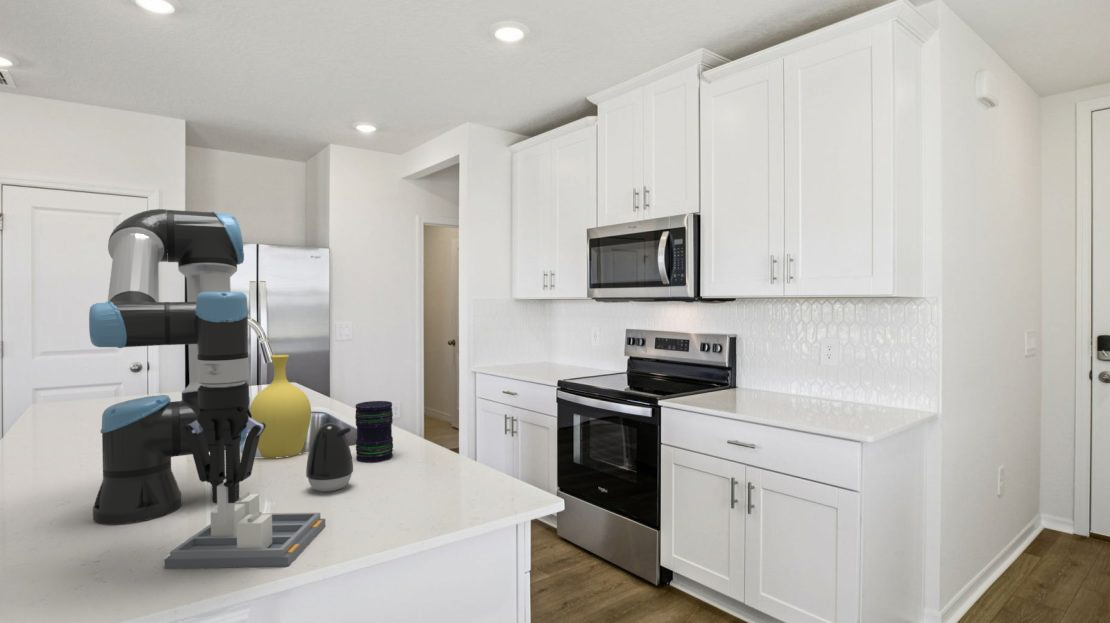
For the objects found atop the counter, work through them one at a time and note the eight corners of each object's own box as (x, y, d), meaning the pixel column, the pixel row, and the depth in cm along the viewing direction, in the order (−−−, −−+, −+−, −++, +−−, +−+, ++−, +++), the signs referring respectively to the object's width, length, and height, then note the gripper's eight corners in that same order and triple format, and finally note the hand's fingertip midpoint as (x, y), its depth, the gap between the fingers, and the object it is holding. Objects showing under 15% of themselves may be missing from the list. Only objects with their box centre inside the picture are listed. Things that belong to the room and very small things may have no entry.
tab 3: (237, 553, 98) (236, 519, 98) (248, 543, 102) (248, 511, 102) (261, 553, 98) (260, 519, 98) (272, 543, 102) (271, 510, 102)
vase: (268, 446, 177) (266, 352, 176) (321, 446, 176) (319, 352, 176) (237, 461, 161) (235, 358, 160) (296, 461, 160) (294, 358, 160)
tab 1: (211, 540, 104) (210, 509, 103) (223, 531, 108) (222, 501, 107) (234, 540, 104) (233, 508, 103) (245, 531, 108) (245, 500, 107)
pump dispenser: (338, 497, 131) (337, 429, 131) (296, 494, 133) (295, 427, 133) (362, 483, 141) (361, 419, 141) (323, 480, 143) (322, 418, 143)
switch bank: (164, 568, 97) (164, 552, 97) (220, 528, 114) (220, 514, 114) (288, 566, 97) (287, 549, 97) (325, 526, 114) (325, 512, 114)
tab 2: (227, 528, 109) (226, 498, 109) (238, 520, 113) (237, 491, 113) (249, 528, 109) (248, 498, 109) (259, 520, 113) (259, 491, 113)
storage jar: (401, 456, 165) (400, 402, 164) (372, 464, 157) (372, 408, 156) (376, 451, 170) (375, 399, 170) (348, 459, 162) (347, 405, 162)
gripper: (170, 387, 96) (173, 530, 97) (252, 387, 96) (254, 530, 97) (197, 379, 103) (199, 512, 104) (273, 379, 104) (274, 512, 105)
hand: (226, 521), depth 101 cm, fingers closed
